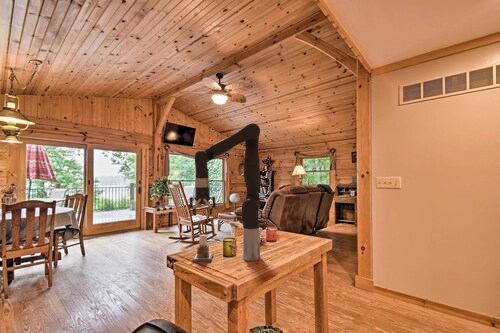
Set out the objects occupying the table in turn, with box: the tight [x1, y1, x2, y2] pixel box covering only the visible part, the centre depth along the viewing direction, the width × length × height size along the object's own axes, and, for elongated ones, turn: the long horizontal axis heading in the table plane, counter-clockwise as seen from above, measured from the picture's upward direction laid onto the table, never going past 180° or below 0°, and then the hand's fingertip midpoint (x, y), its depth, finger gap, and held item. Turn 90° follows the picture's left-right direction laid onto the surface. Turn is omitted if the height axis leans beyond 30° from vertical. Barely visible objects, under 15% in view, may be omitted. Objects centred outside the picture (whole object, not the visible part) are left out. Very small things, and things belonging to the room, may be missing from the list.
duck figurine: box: [260, 227, 265, 240], centre depth 168 cm, size 12×8×11 cm
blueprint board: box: [191, 252, 214, 263], centre depth 136 cm, size 10×10×2 cm
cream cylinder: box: [198, 234, 208, 247], centre depth 136 cm, size 4×4×6 cm
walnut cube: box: [196, 244, 210, 258], centre depth 136 cm, size 6×6×6 cm
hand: (202, 215), depth 137 cm, fingers open, 8 cm apart
